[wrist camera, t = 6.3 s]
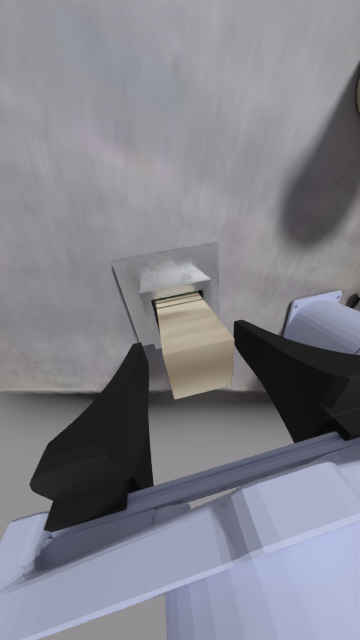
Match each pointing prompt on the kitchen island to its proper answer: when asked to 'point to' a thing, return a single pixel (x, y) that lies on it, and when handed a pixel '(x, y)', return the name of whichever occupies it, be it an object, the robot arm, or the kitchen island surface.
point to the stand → (166, 283)
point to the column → (194, 345)
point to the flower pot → (358, 95)
